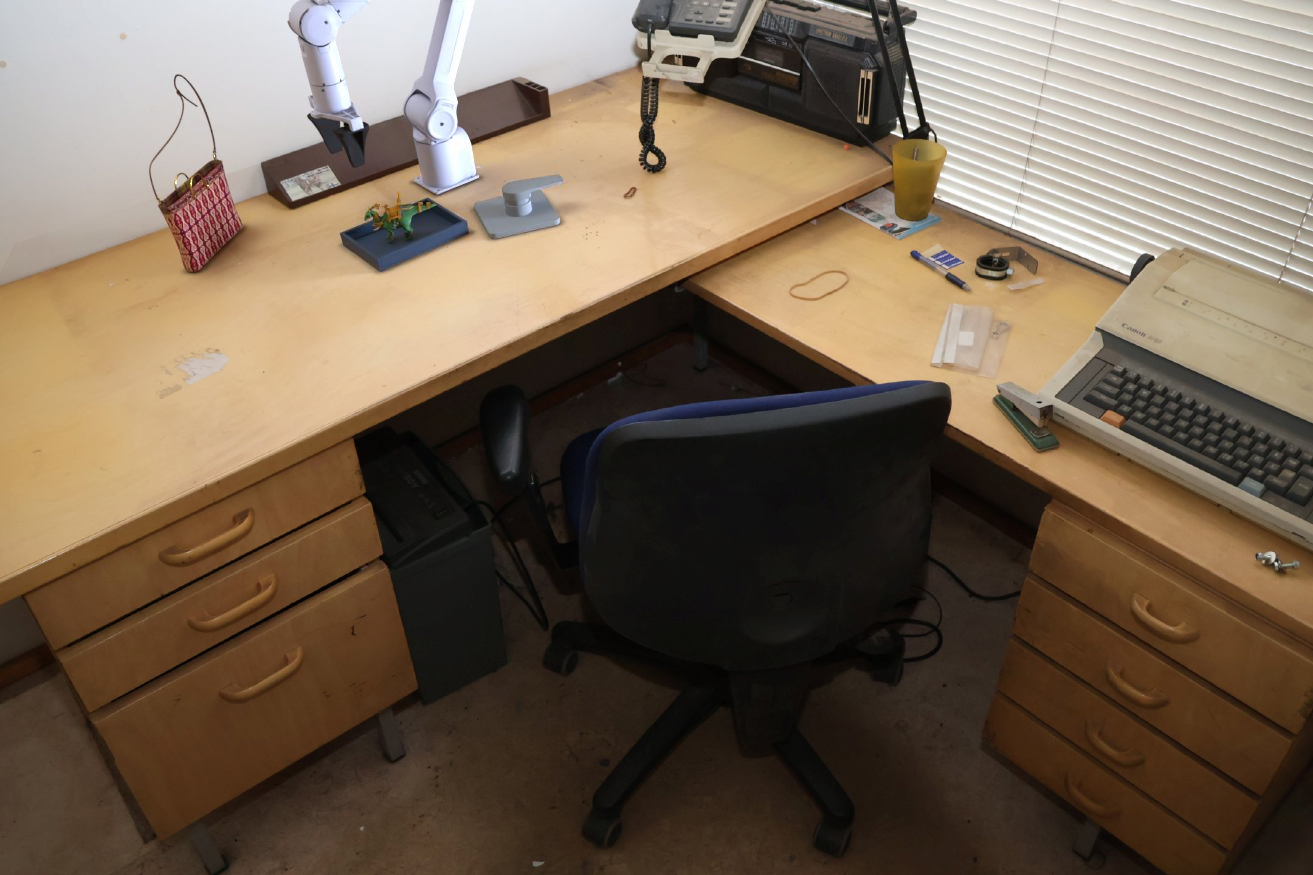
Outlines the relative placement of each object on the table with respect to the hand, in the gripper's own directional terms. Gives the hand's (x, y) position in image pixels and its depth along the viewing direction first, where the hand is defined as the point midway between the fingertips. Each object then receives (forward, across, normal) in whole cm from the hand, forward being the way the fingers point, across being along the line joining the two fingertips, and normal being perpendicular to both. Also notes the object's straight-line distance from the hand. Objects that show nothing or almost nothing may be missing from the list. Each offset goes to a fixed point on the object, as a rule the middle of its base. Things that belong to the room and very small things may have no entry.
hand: (347, 158), depth 171 cm
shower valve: (+10, +23, +19) cm, 31 cm away
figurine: (+9, +16, 0) cm, 18 cm away
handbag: (+10, -8, -24) cm, 27 cm away
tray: (+9, +16, 0) cm, 18 cm away
